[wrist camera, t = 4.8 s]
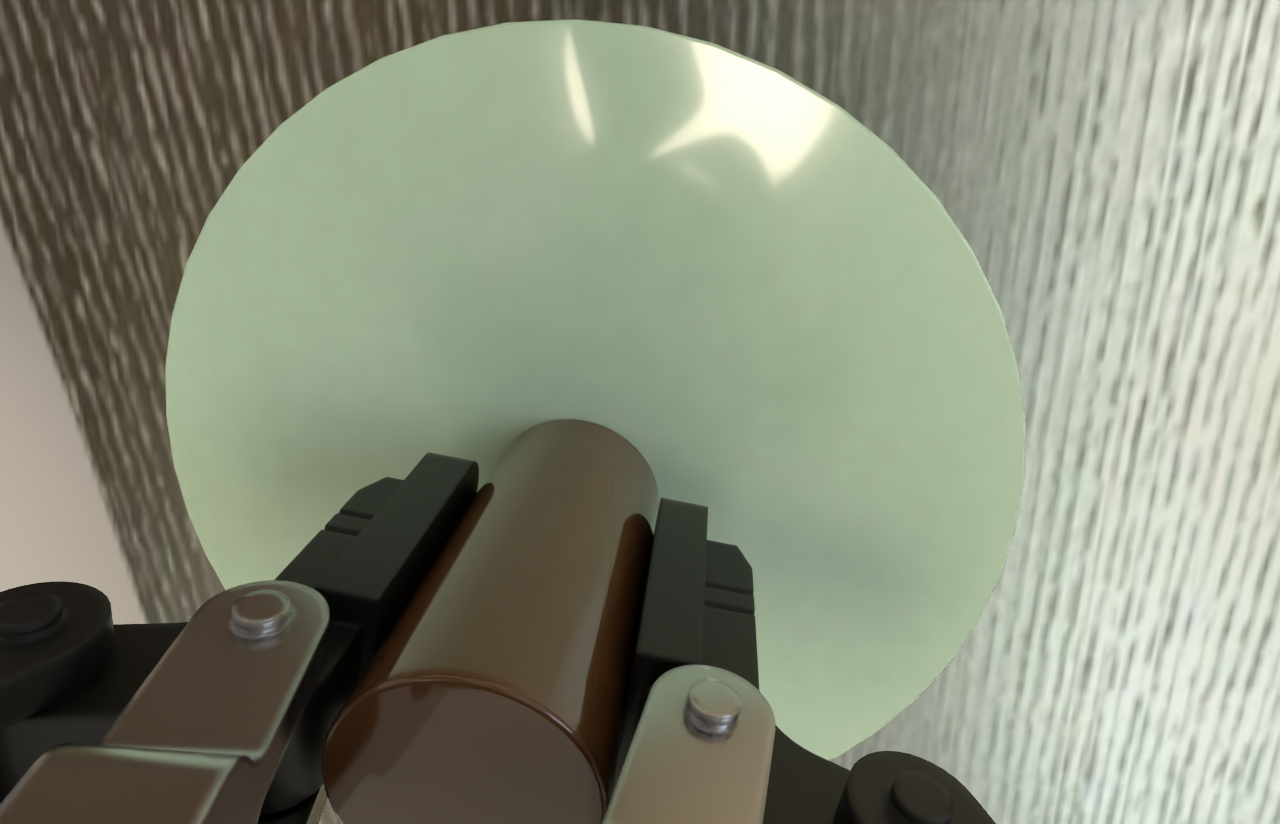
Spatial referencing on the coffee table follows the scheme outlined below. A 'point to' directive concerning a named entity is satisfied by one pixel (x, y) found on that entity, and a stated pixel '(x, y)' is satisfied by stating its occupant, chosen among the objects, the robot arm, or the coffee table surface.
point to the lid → (596, 394)
